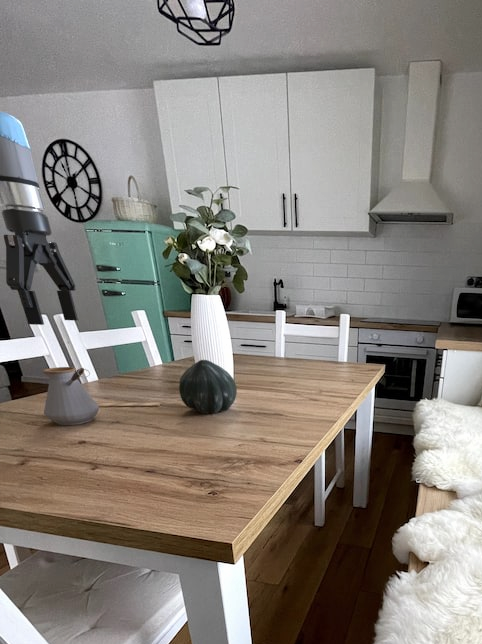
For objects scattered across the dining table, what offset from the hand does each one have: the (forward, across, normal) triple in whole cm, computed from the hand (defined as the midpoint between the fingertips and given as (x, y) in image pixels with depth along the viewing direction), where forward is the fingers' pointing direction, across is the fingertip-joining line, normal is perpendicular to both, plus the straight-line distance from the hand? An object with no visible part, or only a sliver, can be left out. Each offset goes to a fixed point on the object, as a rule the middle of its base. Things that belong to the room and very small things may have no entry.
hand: (55, 322), depth 90 cm
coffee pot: (+24, +3, +2) cm, 24 cm away
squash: (+23, -9, +30) cm, 39 cm away
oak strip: (+23, -15, +2) cm, 28 cm away
